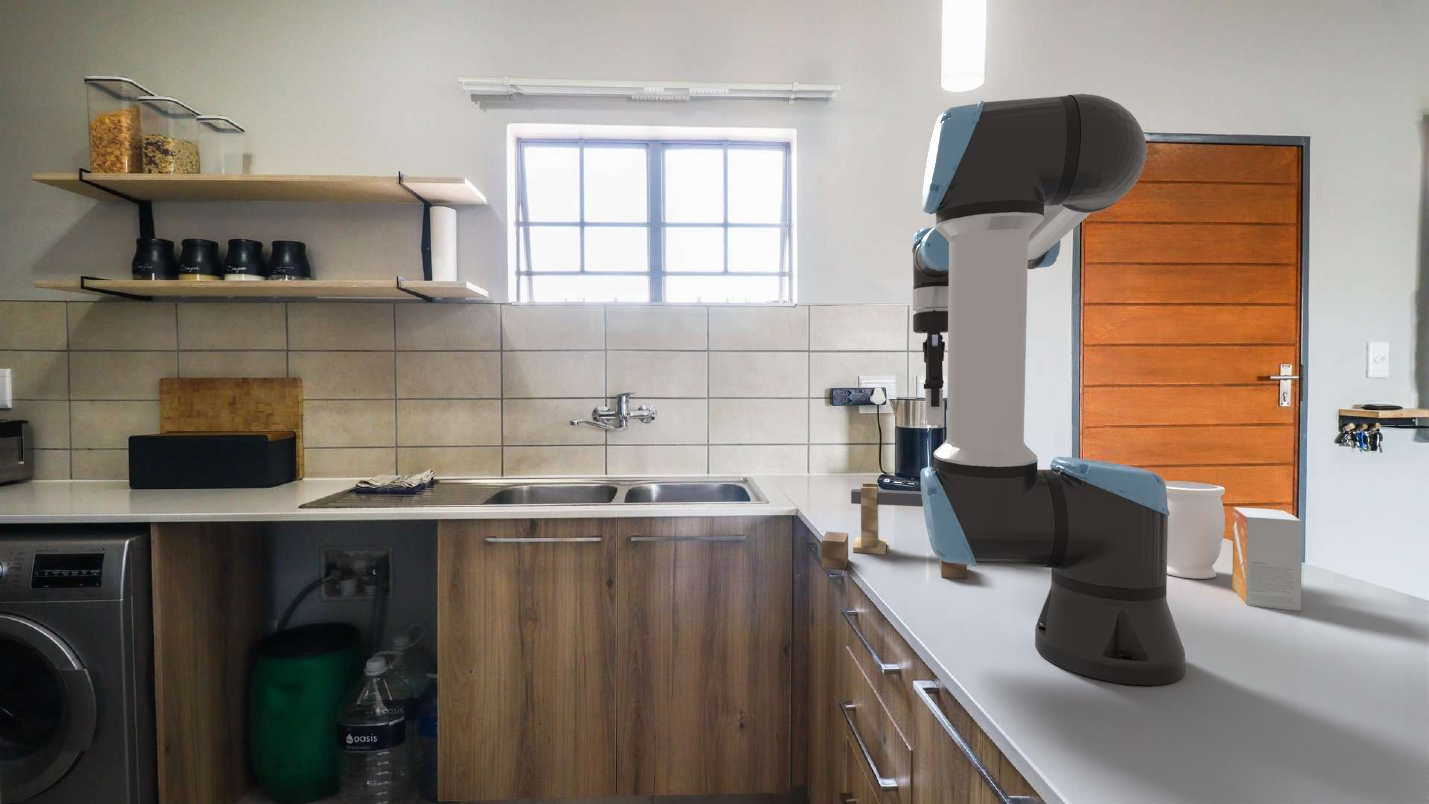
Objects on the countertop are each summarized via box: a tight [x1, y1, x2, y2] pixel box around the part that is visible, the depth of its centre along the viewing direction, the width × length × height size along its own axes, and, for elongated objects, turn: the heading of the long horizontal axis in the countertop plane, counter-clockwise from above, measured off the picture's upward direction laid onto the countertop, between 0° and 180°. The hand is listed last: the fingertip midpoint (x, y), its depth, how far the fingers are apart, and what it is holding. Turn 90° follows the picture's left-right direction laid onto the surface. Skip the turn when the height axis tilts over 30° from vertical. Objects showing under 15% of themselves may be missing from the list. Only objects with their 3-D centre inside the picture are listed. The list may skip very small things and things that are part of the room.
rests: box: [821, 531, 968, 580], centre depth 113 cm, size 24×7×5 cm, turn 73°
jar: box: [1164, 480, 1226, 580], centre depth 109 cm, size 11×10×15 cm
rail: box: [850, 488, 923, 508], centre depth 124 cm, size 28×3×2 cm, turn 73°
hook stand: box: [852, 482, 887, 555], centre depth 124 cm, size 27×8×12 cm, turn 73°
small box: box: [1231, 506, 1303, 612], centre depth 95 cm, size 8×6×13 cm
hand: (933, 422), depth 123 cm, fingers open, 13 cm apart
